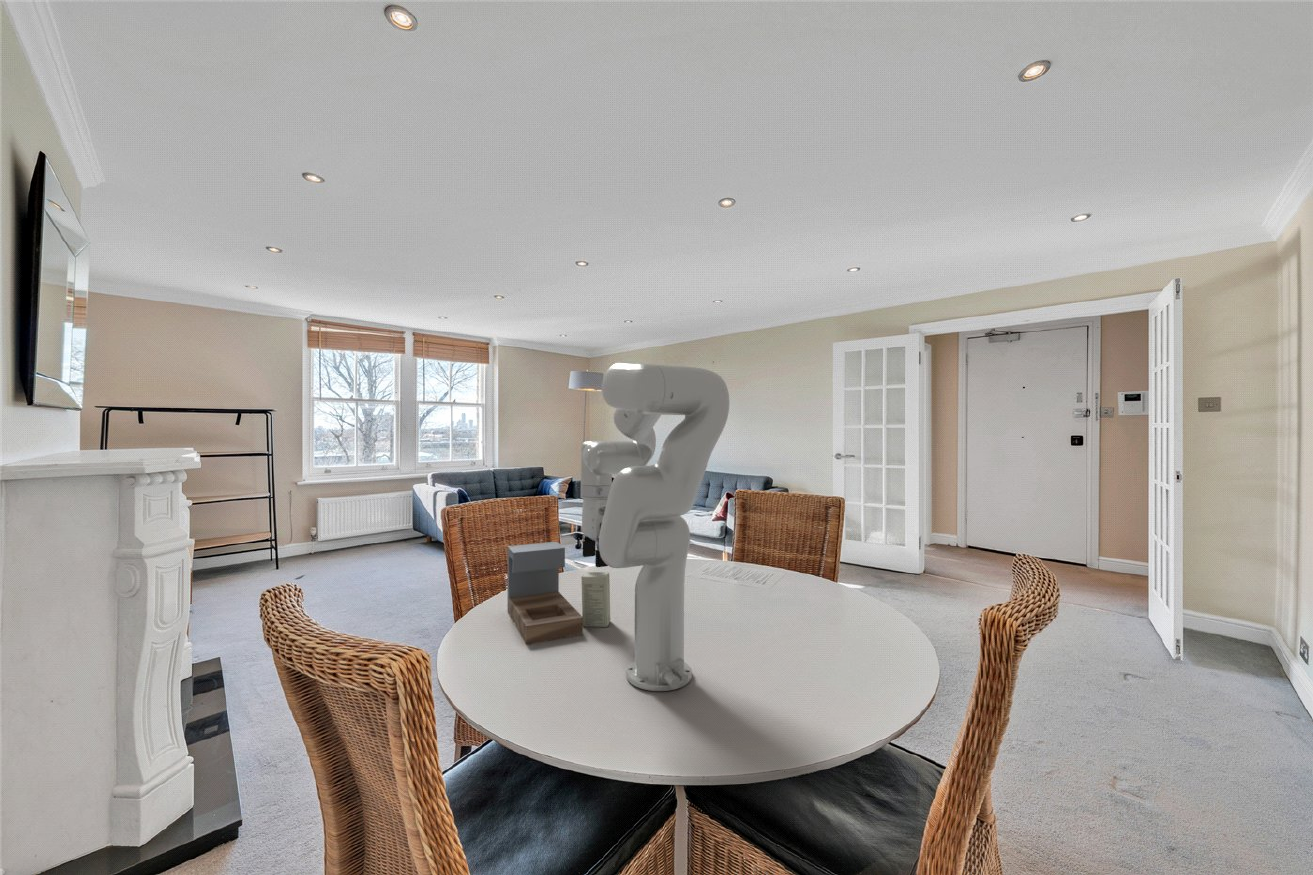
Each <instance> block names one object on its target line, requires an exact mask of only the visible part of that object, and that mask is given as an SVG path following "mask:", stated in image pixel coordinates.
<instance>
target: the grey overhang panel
mask: <svg viewBox="0 0 1313 875" xmlns="http://www.w3.org/2000/svg"><path fill="white" fill-rule="evenodd" d="M506 548H507V552H506V553H507V555H506V557H507V558H506V559H507V560H506V563H507V568H506V570H507V583H506V584H507V587H506V588H507V613H508V614H509V598H514V597H522V596H529V595H537V594H544V593H552V592H559V593H560V591H559V590H560V589H559V588H560V587H559V584H560V578H559V573H560V570H559V569H561V568H566V548H565V546H564V545H562V544H561V543H559V542H558V541H551V542H550V541H549V542H539V543H538V542H537V543H528V544H527V543H526V544H517V545H507V546H506Z"/></svg>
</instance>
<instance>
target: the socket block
mask: <svg viewBox="0 0 1313 875" xmlns="http://www.w3.org/2000/svg"><path fill="white" fill-rule="evenodd" d="M508 614H509V616H510V618H511V620H512V622H513V624H514V623H515V624H514V626H516V628H517V631H518V632H519V635H520V636H521V638H522V639H523V641H524V643H525V645H530V644H534V643H535V642H536V643H540V641H541V642H546V641H545V640H547V641H552V640H551V639H553V640H557V639H558V638H559V639H563V637H565V638H569V637H575V636H576V637H577V636H581V634H582V635H583V634H584V628H583V627H584V626H583V616H582V615H581V614H580V612H578V611H577V609H575V607H574V606H573V605H572V604H571V603H570V602H569V600H567V599H566V597H565V596H564V595H562V593H561V592H560V591H559V592H552V593H544V594H537V595H529V596H522V597H514V598H509V613H508ZM556 638H557V639H556ZM536 643H535V644H536Z"/></svg>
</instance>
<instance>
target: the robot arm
mask: <svg viewBox="0 0 1313 875" xmlns="http://www.w3.org/2000/svg"><path fill="white" fill-rule="evenodd" d="M601 393H602V396H603V400H604V401H605V403H606V404H607V405H608V406H609V407H611V408H614V409H615V410H614V413H613V422H614V424H615V427H616V428H617V430H618V431H619V432H620V433H621V434H622V435H624V436H625V437H626V438H629V439H630V440H631V441H629V440H627V441H625V440H623V441H621V440H619V441H616V440H615V441H607V440H586V441H584V442H583V443H582V444H581V446H580V447H581V448H580V499H582V509H581V510H582V511H581V514H582V515H581V531H582V557H584V558H589V557H595V561H594V562H595V564H594V565H595V567H596V568H604V567H605V568H606V567H610V568H612V569H626V568H633V567H634V568H635V567H641V566H642V567H641V568H640V571H639V573H638V576H637V577H636V581H635V584H634V585H635V586H634V661H632V663H630V664H629V665H628V666H627V667H626V673H625V675H626V676H625V677H626V680H627V681H628V682H629V683H630V684H631V685H633V686H634V687H636V688H638V689H642V690H646V691H650V692H669V691H674V690H675V691H676V690H677V689H680V688H684V686H686V685H687V684H689V682H691V680H692V678H693V671H692V670H693V669H692V668H691V666H690V665H689V664H688V663H686V662H685V579H686V578H685V576H686V568H687V567H686V566H687V560H688V555H689V554H688V552H689V548H690V542H691V532H690V526H689V525H688V523H687V521H686V519H684V518H683V517H682V516H683V515H686V514H688V513H689V512H690V511H691V510H692V508H693V506H694V505H695V502H696V499H697V497H698V494H699V491H700V488H701V485H702V482H703V479H704V476H705V474H706V470H707V467H708V463H709V461H710V458H711V455H712V452H713V450H714V449H715V446H716V444H717V443H718V442H719V439H720V436H722V433H723V431H724V430H725V426H726V423H727V421H728V416H729V412H730V394H729V389H728V386H727V383H726V381H725V380H724V379H723V378H722V376H720V375H719V374H718V373H716V372H714V371H713V370H709V369H705V368H702V367H701V368H700V367H696V366H695V367H694V366H683V365H682V366H680V365H678V366H677V365H664V364H650V363H636V362H622V361H620V362H615V363H614V364H612V365H611V366H610V367H609V368H608V369H607V371H606V372H605V374H604V376H603V380H602V383H601ZM662 415H664V416H665V415H666V416H668V415H669V416H670V415H671V416H684V418H683V420H681V422H680V423H678V424H677V425H676V426H675V427H674V428H673V429H672V430H671V432H670V433H669V434H668V435H667V437H666V438H665V440H664V442H663V444H662V448H661V451H660V455H659V457H658V460H657V461H656V463H654V464H651V465H648V464H649V463H650V461H651V460H652V459H653V456H654V455H655V451H656V446H657V445H656V444H657V438H656V432H655V430H654V426H656V423H657V422H658V421H659V419H660V417H661V416H662ZM613 475H615V477H614V478H613ZM612 479H613V480H612Z"/></svg>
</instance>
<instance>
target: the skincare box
mask: <svg viewBox="0 0 1313 875" xmlns="http://www.w3.org/2000/svg"><path fill="white" fill-rule="evenodd" d="M580 578H581V606H582V607H581V608H582V615H581V616H582V617H583V627H596V628H597V627H598V628H599V627H601V628H605V627H606V628H607V627H608V626H609V624H610V623H611V590H610V588H611V587H610V586H611V584H610V572H609V571H608V572H603V571H599V572H596V571H595V572H593V571H592V572H589V571H586V572H584V573H583V574H582V575H581V577H580Z"/></svg>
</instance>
